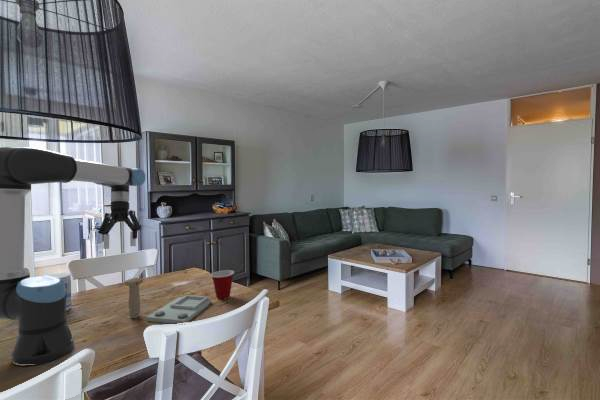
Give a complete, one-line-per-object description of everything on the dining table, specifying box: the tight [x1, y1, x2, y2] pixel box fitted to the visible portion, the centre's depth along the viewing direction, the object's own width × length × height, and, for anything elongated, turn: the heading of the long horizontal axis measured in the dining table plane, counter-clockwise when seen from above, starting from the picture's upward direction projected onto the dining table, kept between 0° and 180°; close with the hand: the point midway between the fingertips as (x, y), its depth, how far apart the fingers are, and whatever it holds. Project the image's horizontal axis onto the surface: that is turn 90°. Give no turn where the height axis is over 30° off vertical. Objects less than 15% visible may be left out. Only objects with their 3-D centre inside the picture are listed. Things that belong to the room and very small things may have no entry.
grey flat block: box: [146, 294, 213, 324], centre depth 132 cm, size 22×16×3 cm
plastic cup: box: [210, 269, 235, 300], centre depth 147 cm, size 11×11×12 cm
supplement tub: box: [46, 272, 72, 312], centre depth 132 cm, size 10×10×15 cm
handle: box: [124, 277, 144, 319], centre depth 125 cm, size 5×6×15 cm
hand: (119, 247), depth 144 cm, fingers open, 13 cm apart
